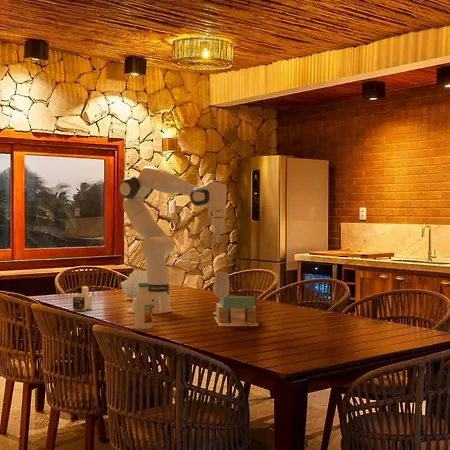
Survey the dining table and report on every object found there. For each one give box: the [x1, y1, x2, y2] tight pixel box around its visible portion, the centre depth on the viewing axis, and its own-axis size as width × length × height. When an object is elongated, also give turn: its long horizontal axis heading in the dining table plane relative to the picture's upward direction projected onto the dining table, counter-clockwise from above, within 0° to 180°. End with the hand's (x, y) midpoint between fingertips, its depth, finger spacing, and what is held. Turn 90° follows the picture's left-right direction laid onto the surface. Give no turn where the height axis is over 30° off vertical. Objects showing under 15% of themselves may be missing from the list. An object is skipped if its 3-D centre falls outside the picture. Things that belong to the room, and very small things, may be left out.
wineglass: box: [212, 271, 231, 316], centre depth 340 cm, size 9×9×21 cm
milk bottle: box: [134, 283, 153, 330], centre depth 297 cm, size 8×8×20 cm
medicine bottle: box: [72, 285, 93, 311], centre depth 352 cm, size 7×7×12 cm
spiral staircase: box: [120, 269, 147, 300], centre depth 388 cm, size 18×18×25 cm
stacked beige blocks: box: [214, 302, 259, 327], centre depth 315 cm, size 20×18×11 cm
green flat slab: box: [219, 296, 255, 308], centre depth 314 cm, size 14×14×5 cm
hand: (216, 242), depth 327 cm, fingers open, 8 cm apart
